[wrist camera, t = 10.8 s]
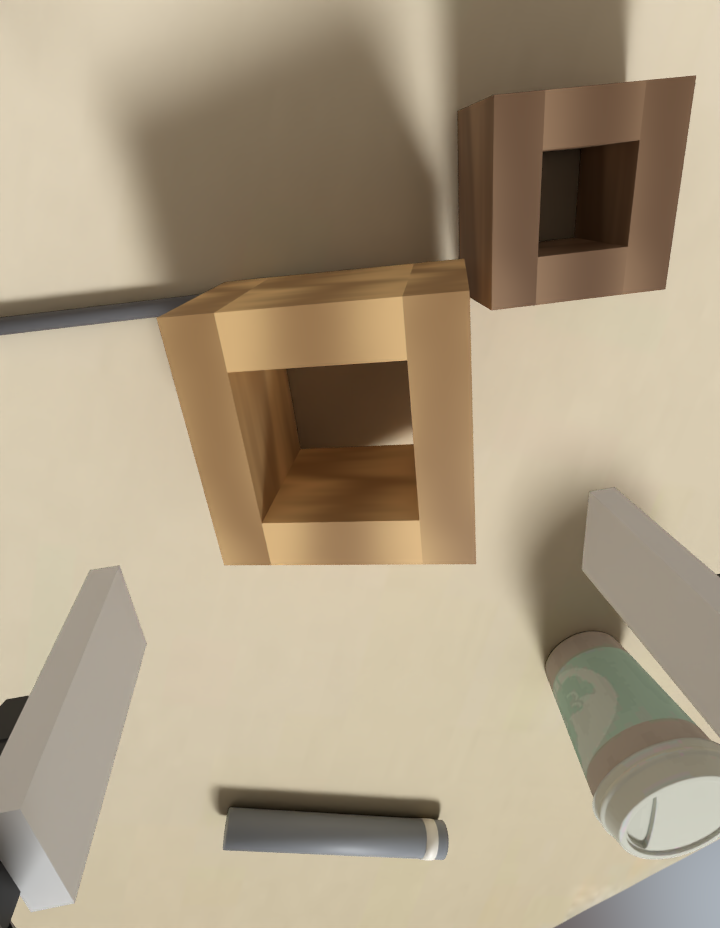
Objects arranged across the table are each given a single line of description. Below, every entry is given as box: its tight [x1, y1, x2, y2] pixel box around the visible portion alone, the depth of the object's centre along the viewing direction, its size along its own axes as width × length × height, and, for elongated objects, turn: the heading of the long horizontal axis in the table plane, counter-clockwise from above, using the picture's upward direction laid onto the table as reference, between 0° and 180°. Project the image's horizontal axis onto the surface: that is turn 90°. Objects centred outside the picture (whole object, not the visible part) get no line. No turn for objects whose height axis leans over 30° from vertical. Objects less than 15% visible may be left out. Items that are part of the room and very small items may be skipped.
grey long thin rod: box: [0, 294, 201, 335], centre depth 27 cm, size 17×1×1 cm, turn 95°
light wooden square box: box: [157, 259, 476, 565], centre depth 26 cm, size 12×12×8 cm
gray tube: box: [223, 807, 448, 860], centre depth 46 cm, size 3×3×18 cm
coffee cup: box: [545, 631, 720, 859], centre depth 37 cm, size 8×8×12 cm
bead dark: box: [458, 76, 696, 310], centre depth 25 cm, size 8×8×5 cm
